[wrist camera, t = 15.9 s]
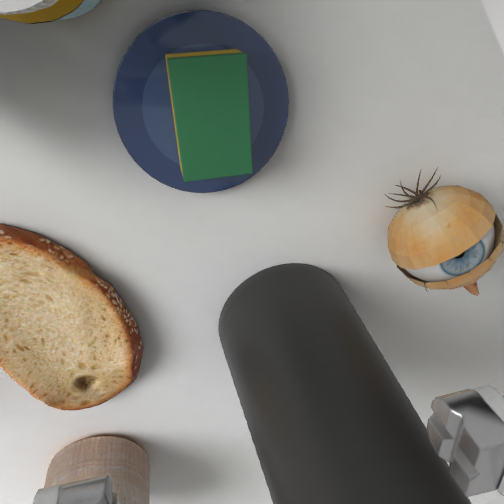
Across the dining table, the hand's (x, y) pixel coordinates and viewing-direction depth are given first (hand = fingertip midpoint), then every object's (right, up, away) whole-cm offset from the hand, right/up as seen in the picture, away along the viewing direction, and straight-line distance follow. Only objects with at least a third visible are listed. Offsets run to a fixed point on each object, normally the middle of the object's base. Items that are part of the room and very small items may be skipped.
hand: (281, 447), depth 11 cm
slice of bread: (-19, -1, +29) cm, 35 cm away
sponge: (-4, +15, +21) cm, 27 cm away
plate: (-5, +16, +23) cm, 28 cm away
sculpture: (+16, +8, +32) cm, 37 cm away
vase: (+2, -2, +35) cm, 35 cm away
